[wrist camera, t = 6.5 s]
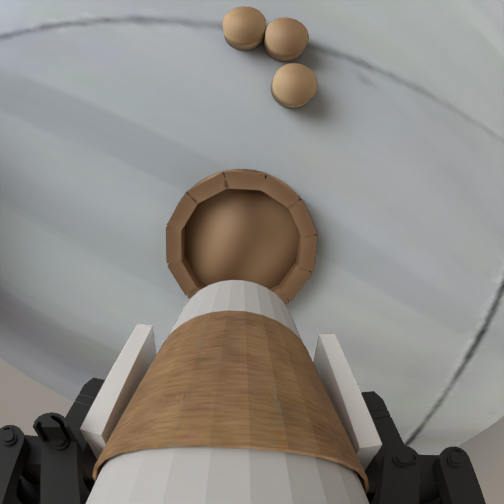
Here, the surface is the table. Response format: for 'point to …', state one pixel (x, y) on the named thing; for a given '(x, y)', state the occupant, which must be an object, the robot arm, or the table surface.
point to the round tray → (241, 234)
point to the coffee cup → (230, 415)
